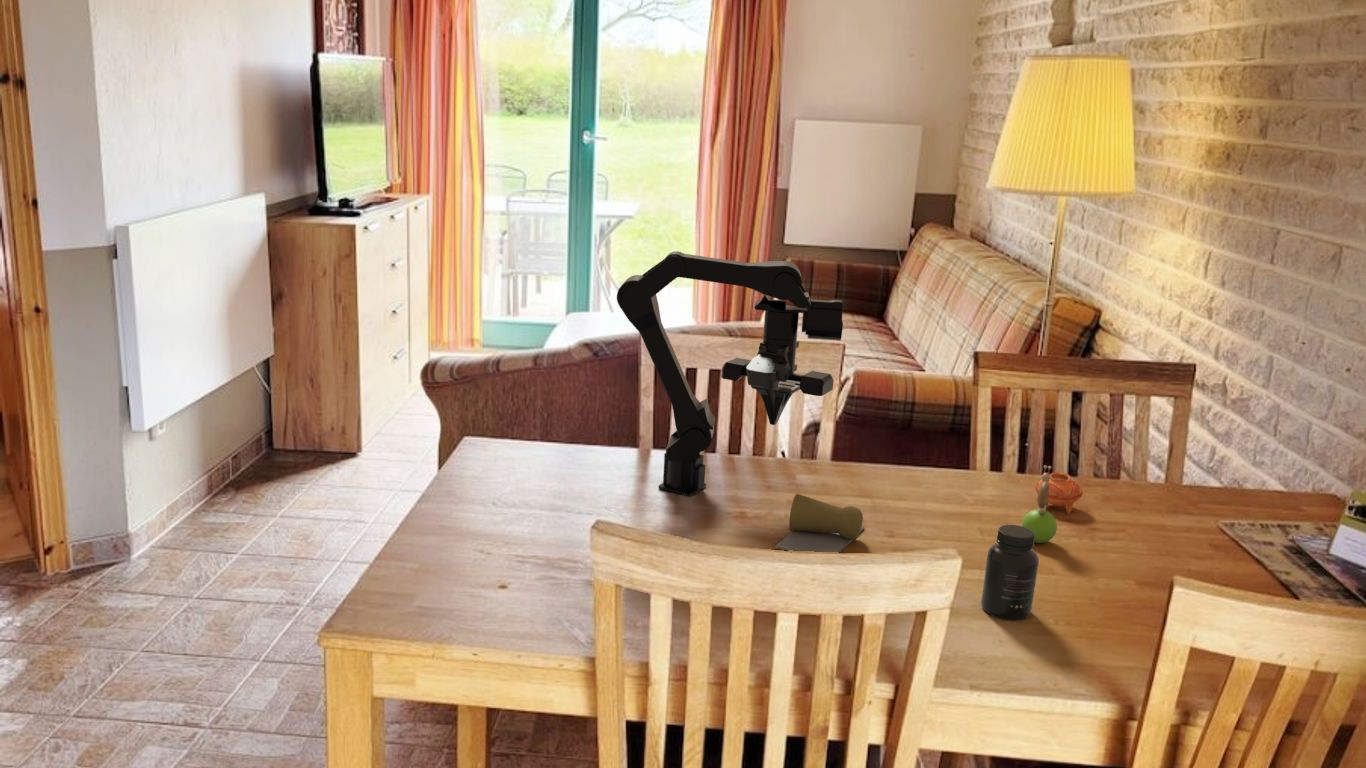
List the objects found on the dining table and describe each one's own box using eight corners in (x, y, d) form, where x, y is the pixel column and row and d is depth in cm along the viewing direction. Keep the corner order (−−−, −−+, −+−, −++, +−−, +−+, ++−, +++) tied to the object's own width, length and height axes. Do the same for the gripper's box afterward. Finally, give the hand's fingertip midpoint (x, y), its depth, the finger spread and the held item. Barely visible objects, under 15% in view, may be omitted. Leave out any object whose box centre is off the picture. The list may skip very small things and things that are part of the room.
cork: (788, 537, 171) (856, 550, 168) (790, 504, 169) (859, 516, 166) (797, 519, 177) (863, 532, 173) (799, 487, 174) (866, 499, 171)
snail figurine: (1054, 536, 177) (1065, 467, 174) (1054, 550, 171) (1065, 480, 168) (1020, 530, 179) (1030, 462, 176) (1019, 544, 173) (1029, 474, 170)
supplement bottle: (973, 598, 153) (983, 520, 149) (1019, 599, 153) (1030, 521, 150) (990, 621, 146) (1001, 540, 143) (1038, 622, 147) (1051, 541, 143)
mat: (775, 548, 166) (775, 545, 166) (813, 516, 180) (813, 514, 180) (829, 562, 162) (830, 559, 162) (864, 528, 176) (864, 526, 176)
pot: (1092, 510, 189) (1092, 476, 186) (1058, 525, 186) (1058, 491, 183) (1058, 493, 196) (1058, 460, 193) (1026, 507, 193) (1025, 474, 190)
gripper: (709, 336, 179) (704, 425, 183) (814, 353, 170) (806, 446, 174) (738, 325, 188) (732, 410, 192) (838, 341, 180) (830, 430, 184)
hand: (773, 424), depth 186 cm, fingers closed
